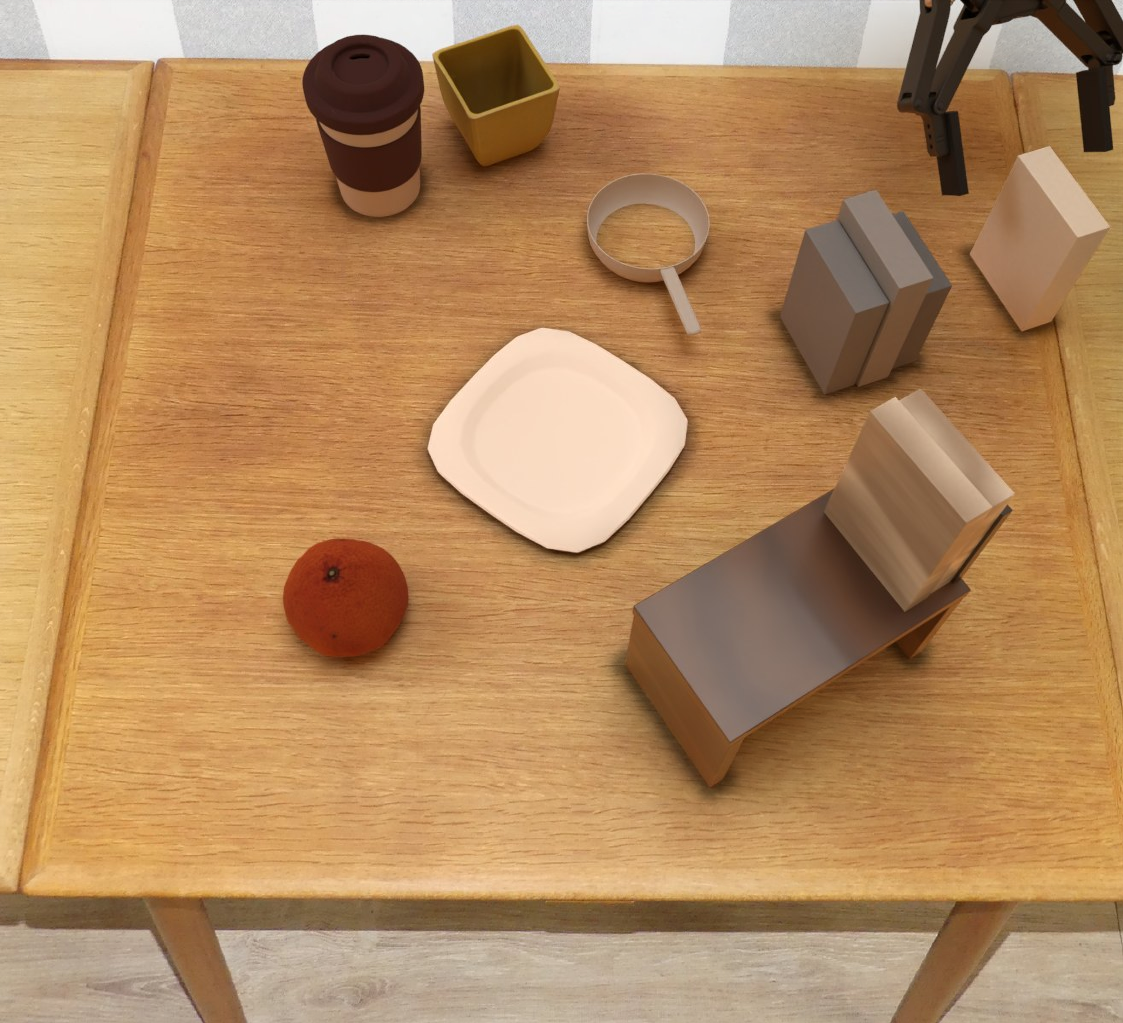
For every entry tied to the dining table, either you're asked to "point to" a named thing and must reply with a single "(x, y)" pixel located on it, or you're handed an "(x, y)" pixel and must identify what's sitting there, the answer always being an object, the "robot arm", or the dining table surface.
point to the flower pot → (498, 93)
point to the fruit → (345, 597)
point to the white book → (1038, 238)
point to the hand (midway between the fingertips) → (1027, 173)
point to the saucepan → (661, 194)
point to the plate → (558, 439)
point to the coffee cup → (369, 120)
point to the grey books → (862, 294)
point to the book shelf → (820, 585)
